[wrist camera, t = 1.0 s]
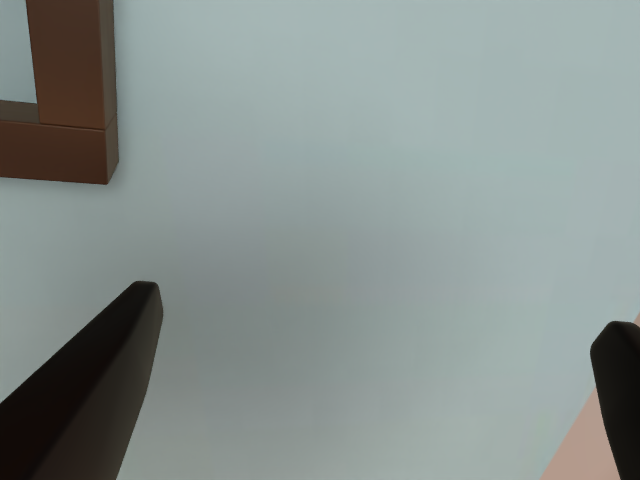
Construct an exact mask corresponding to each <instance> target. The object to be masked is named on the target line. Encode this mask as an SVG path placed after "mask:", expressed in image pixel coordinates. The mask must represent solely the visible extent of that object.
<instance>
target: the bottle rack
mask: <svg viewBox="0 0 640 480" xmlns="http://www.w3.org/2000/svg"><path fill="white" fill-rule="evenodd" d="M26 8H27V17H28V25H29V34H30V43H31V52H32V61H33V70H34V79H35V87H36V96H37V104H34V103H24V102H15V101H5V100H0V177H8V178H21V179H35V180H49V181H62V182H76V183H89V184H103V185H107V184H108V183H109V181H110V179H111V177H112V175H113V173H114V170H115V168H116V166H117V164H118V162H119V153H118V125H117V113H116V112H117V97H116V69H115V42H114V14H113V0H26Z"/></svg>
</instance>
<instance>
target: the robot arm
mask: <svg viewBox="0 0 640 480" xmlns="http://www.w3.org/2000/svg"><path fill="white" fill-rule="evenodd" d="M162 321H163V305H162V300H161V295H160V290H159V286H158V284H157V283H155V282H149V281H136V282H134V283H132V284H131V285H130V286H129V287H128V288H127V289H126V290H124V291H123V292H122V293H121V294H120V295H119V296H118V297H117V298H116V299H115V300H113V301H112V302H111V303H110V304H109V305H108V306H107V307H106V308H105V309H104V310H102V311H101V312H100V313H99V314H98V315H97V316H96V317H95V318H94V319H93V320H91V321H90V322H89V323H88V324H87V325H86V326H85V327H84V328H83V329H82V330H80V331H79V332H78V333H77V334H76V335H75V336H74V337H73V338H72V339H71V340H70V341H68V342H67V343H66V344H65V345H64V346H63V347H62V348H61V349H60V350H59V351H57V352H56V353H55V354H54V355H53V356H52V357H51V358H50V359H49V360H48V361H46V362H45V363H44V364H43V365H42V366H41V367H40V368H39V369H38V370H37V371H35V372H34V373H33V374H32V375H31V376H30V377H29V378H28V379H27V380H26V381H24V382H23V383H22V384H21V385H20V386H19V387H18V388H17V389H16V390H15V391H13V392H12V393H11V394H10V395H9V396H8V397H7V398H6V399H5V400H4V401H2V402H1V403H0V480H116V478H117V476H118V473H119V470H120V467H121V464H122V461H123V458H124V456H125V453H126V450H127V447H128V444H129V441H130V438H131V436H132V433H133V430H134V427H135V424H136V421H137V418H138V416H139V413H140V410H141V407H142V404H143V401H144V398H145V395H146V392H147V388H148V384H149V380H150V375H151V371H152V366H153V362H154V357H155V353H156V348H157V344H158V339H159V335H160V330H161V326H162ZM590 357H591V362H592V367H593V372H594V378H595V383H596V388H597V393H598V398H599V403H600V408H601V413H602V418H603V422H604V426H605V430H606V434H607V437H608V440H609V444H610V447H611V450H612V453H613V456H614V460H615V463H616V466H617V469H618V472H619V476H620V479H621V480H640V327H638V326H637V325H636V324H634V323H631V322H622V321H612V322H610V323H608V324H607V325H606V327H605V328H604V329H603V331H602V332H601V333H600V334H599V336H598V337H597V338H596V339H595V341H594V342H593V343H592V345H591V349H590Z"/></svg>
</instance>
